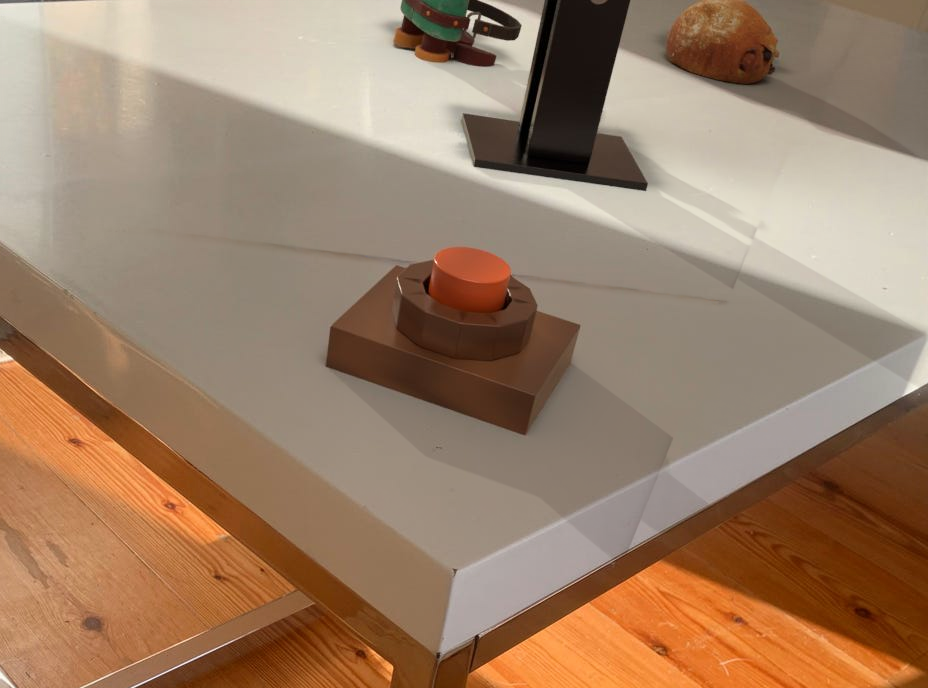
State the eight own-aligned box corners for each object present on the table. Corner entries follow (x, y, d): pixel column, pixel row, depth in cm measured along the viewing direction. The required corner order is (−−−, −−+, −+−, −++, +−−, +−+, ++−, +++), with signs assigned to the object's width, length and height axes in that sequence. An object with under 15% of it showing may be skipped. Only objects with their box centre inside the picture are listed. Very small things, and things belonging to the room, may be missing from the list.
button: (513, 295, 54) (521, 261, 53) (489, 325, 51) (497, 289, 50) (443, 273, 54) (449, 239, 53) (416, 301, 51) (422, 265, 50)
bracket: (617, 152, 84) (671, -51, 75) (643, 200, 77) (706, -17, 68) (459, 129, 82) (496, -83, 73) (471, 176, 75) (514, -51, 66)
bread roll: (697, 86, 115) (689, 1, 112) (796, 71, 109) (790, -20, 106) (654, 102, 108) (644, 11, 105) (756, 86, 102) (749, -11, 99)
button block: (570, 363, 57) (590, 291, 54) (525, 436, 51) (544, 359, 48) (390, 303, 59) (401, 231, 56) (325, 367, 53) (334, 289, 50)
